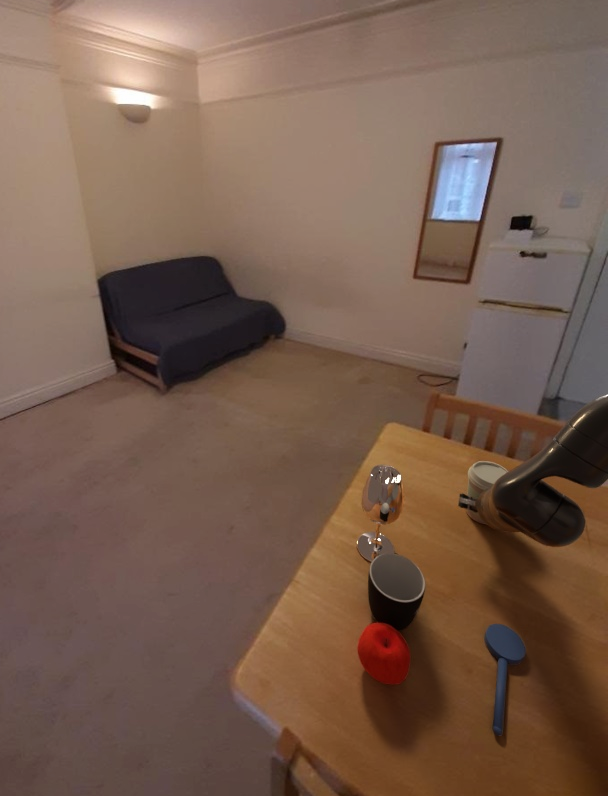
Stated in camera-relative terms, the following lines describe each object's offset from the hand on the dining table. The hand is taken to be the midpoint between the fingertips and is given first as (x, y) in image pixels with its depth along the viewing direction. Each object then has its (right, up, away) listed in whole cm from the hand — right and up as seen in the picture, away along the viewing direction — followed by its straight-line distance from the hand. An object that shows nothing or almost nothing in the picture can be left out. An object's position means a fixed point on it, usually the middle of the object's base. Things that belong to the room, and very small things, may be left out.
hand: (484, 509), depth 85 cm
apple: (-29, -17, -20) cm, 39 cm away
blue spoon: (-11, -17, -23) cm, 31 cm away
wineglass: (-24, -8, -1) cm, 25 cm away
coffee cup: (+2, -3, +6) cm, 7 cm away
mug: (-24, -13, -12) cm, 30 cm away
